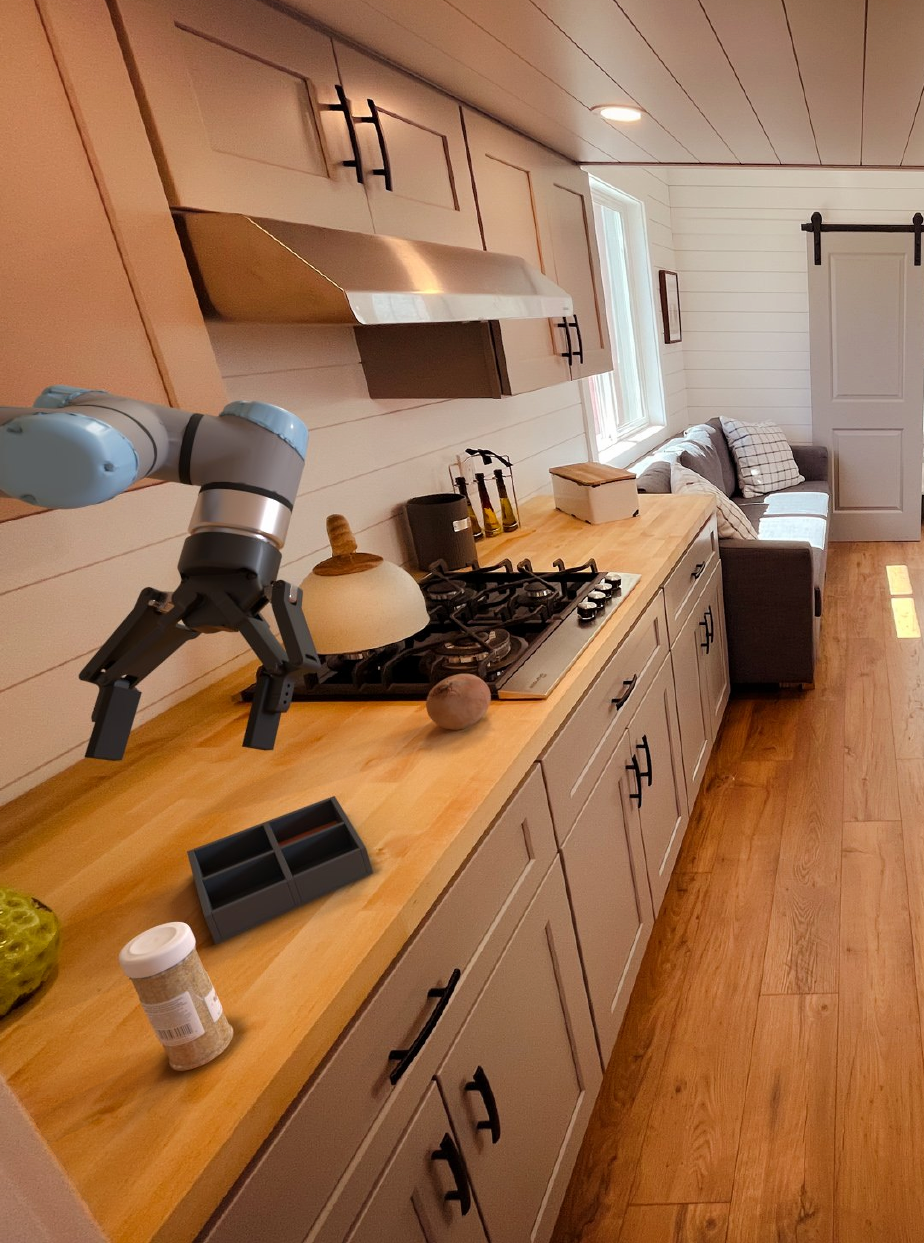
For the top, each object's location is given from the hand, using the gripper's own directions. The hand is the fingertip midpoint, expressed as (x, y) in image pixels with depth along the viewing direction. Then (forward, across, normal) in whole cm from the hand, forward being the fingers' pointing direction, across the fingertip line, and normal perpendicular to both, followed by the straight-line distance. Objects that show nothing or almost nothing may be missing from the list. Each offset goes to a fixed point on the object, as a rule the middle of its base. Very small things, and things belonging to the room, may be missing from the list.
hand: (180, 754), depth 65 cm
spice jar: (+26, +1, -11) cm, 28 cm away
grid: (+11, +8, -28) cm, 31 cm away
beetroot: (-12, +4, -55) cm, 56 cm away
